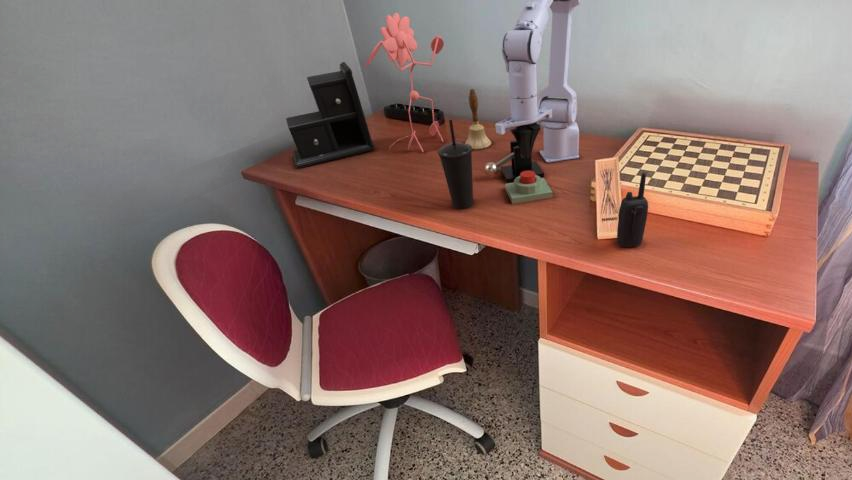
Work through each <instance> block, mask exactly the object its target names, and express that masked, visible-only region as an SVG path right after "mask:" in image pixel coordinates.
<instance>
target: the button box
mask: <svg viewBox="0 0 852 480" xmlns="http://www.w3.org/2000/svg"><path fill="white" fill-rule="evenodd" d="M504 189H505V191H506V193H507V196H508V198H509V200H510V202H511V204H512V205H514V204H515V205H516V204H521V203H527V202H532V201H538V200H545V199H550V198H553V197H554V196H553V193H554V192H553V191H552V189H551V187H550V185H549V184H548V182H547V181H546V179H545V177H544V178H540V177H539V176H537V175H535V183H533V184H522V183H521V182H520V176H519V177H516V179H515V180H514V182H512V183H505V184H504Z"/></svg>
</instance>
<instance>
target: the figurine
mask: <svg viewBox="0 0 852 480" xmlns="http://www.w3.org/2000/svg"><path fill="white" fill-rule="evenodd" d="M410 24H411V23H410V18H409V17H408V16H406V15H404V16H402V17H401V16H400V14H399V13H398V12H395V13H393V15H392V16H391V15H390V14H387V15H386V17H385V25H386V27H384V26H381V28H380V33H381V36H382V38H383V39H384V41H383V40H380V41H379V42H378V43H377V45H376V46H375V47H374V48H373V50H372V52H371V53H370V55H369V57H368V59H367V61H366V64H365V68H368V67H369V65H370V64H371V63H372V62H373V60H374V59H375V57H376V56H377V54H378V52H379V50H380V49H381V47H383V49H384V51H385V52H386V53H387V60H388V61H390V62H393V64H394V65H395V67H396V68H397V69H398V70H399V73H400V72H402V71H405V70H406V69H408V68H410V67H411V68H410V69H409V70H410V71H409V75H410V85H411V86H410V87H411V91H410V92H409V98H410V99H409V105H408V110H407V111H408V118H409V124H410V129H411V135H410V134H409V135H407V136H404V137H402V138H398V139H397V140H396V141H395V142H393V143H392V144H391V145H390V147H392V146H393V145H394V144H395V143H398V141H401V140H403V139H405V138H408V137H410V136H411V137H410V139H409V142H408V144H407V148H406V151H409V149H410V147H411V144H412V142H413V141H414V139H415V141H416V143H417V146H418V148H419V150H420V151H421V152H422V153H424V151H425V150H424V149H423V147H422V144H421V143H420V141H419V139H418V138H417V136H416V130H414V129H413V124H412V117H411V105H412V101H414V102H415V101H418V100H419V99H420V98H421V99H424V100H427V101H431V111H432V123H431V124H430V127H429V130H428V133H429V135H430V136H432V137H435V135H436V134H438V137H439V139H440V140H441V142H442V143H443V142H445V141H444V138H443V137H442V135H441V132H440V131H439V128H440V123H439V121H435V112H434V111H435V110H434V101H433V99H432V98H429V97H425V96H421V95H420V94H419V92H418V91H416V90H414V82H413V81H414V80H413V70H414V67H415V66H417V65H421V66H430V67H432V66H433V62H434V59H435V55H438V54H439V53H441V51H442V50H443V48H444V46H445V44H444V43H445V42H444V40H443V38H442V37H441V36H440V35H438V34H437V35H436V36H435V37H434V38H433V39H431V42H430V48H431V51H432V55H431V59H430V62H428V63H427V62H420V61H416V60H415V59H414V57H413V54H412V51H413V52H414V51H417V50H418V44H417V41H416V39H415V38H414V36H415V32H414V30H413V29H412V28H411V27H410ZM396 60H397V62H396ZM406 62H408V64H406ZM405 64H406V65H405ZM400 67H401V68H400ZM454 136H457V134H455V133H454ZM388 150H389V151H391V148H389V149H388Z"/></svg>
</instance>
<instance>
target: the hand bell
mask: <svg viewBox="0 0 852 480" xmlns="http://www.w3.org/2000/svg"><path fill="white" fill-rule="evenodd" d="M478 99H479V98H478V95H477V93H476V89H475V88H471V89H469V95H468V105H469V108H470V111H471V115H472V124H471V125H469V127H468V136H467V139H466V140H465V142H464V143H465V144H469V145H471V146H472V150H483V149H487V148H489V147H490V146H492V141H491V140H490V139H489V138H488V136H487V133H486V131H485V127H484V125H482V124H480V122H479V115H478V108H479V100H478Z"/></svg>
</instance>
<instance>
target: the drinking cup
mask: <svg viewBox="0 0 852 480" xmlns="http://www.w3.org/2000/svg"><path fill="white" fill-rule="evenodd" d="M448 123H449V131H450V137H451V142H450V143H446V144H445V145H442V146H441V147H439V148H438V150H437V155H438V156H439V158H440V162H441V165H442V170H443V173H444V176H445V180H446V183H447V189H448V191H449V195H450V199H451V203H452V206H453V208H454V209H456V210H461V211H462V210H467V209H470V208H471V207H473V205H474V189H473V187H474V186H473V185H474V184H473V160H472V159H473V158H472V157H473V156H472V153H473V149H472V146H471V145H469V144H465V142H460V141H456V135H455V130H454V125H453V120H452V119H449V120H448Z"/></svg>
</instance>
